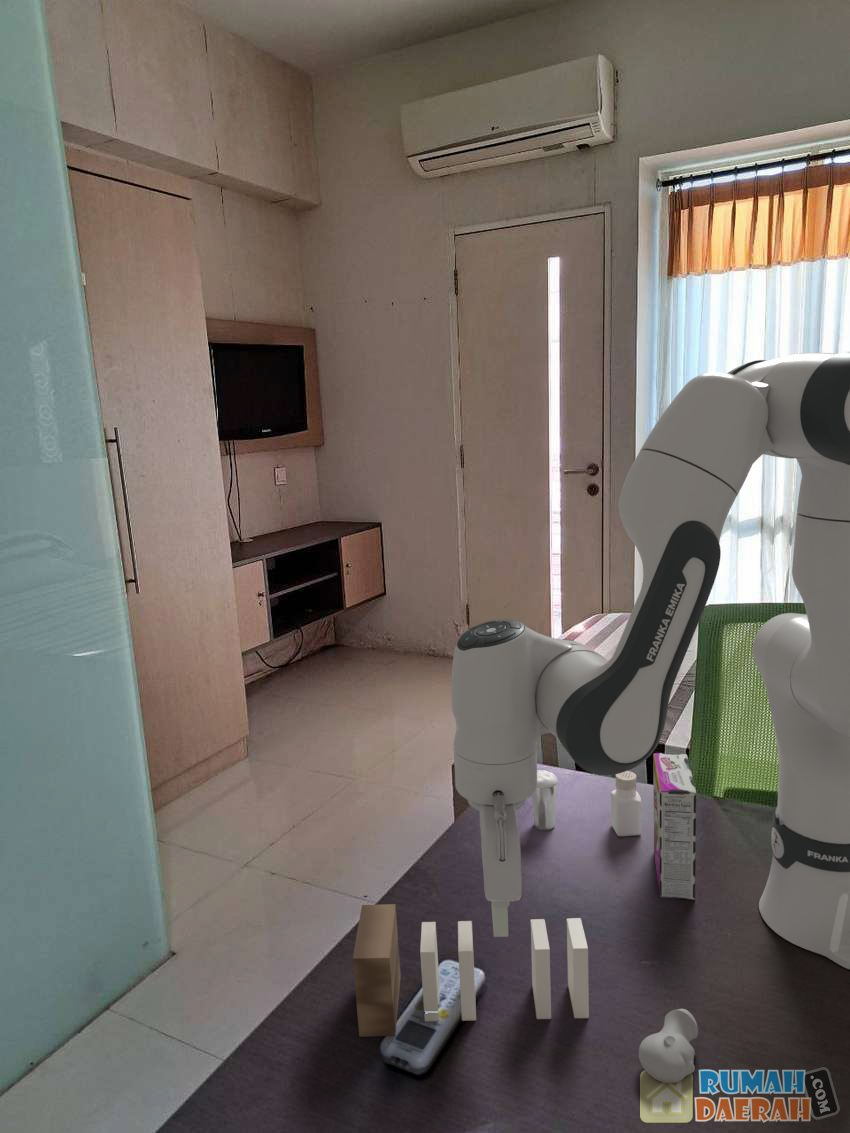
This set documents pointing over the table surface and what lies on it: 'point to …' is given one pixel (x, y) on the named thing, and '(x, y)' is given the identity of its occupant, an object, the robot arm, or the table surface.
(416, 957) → the table surface
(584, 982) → the domino
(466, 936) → the domino
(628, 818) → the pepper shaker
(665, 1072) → the smooth white sculpture
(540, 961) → the domino
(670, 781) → the candy bar box
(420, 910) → the table surface
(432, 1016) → the domino
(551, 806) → the milkshake
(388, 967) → the end block
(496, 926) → the domino
